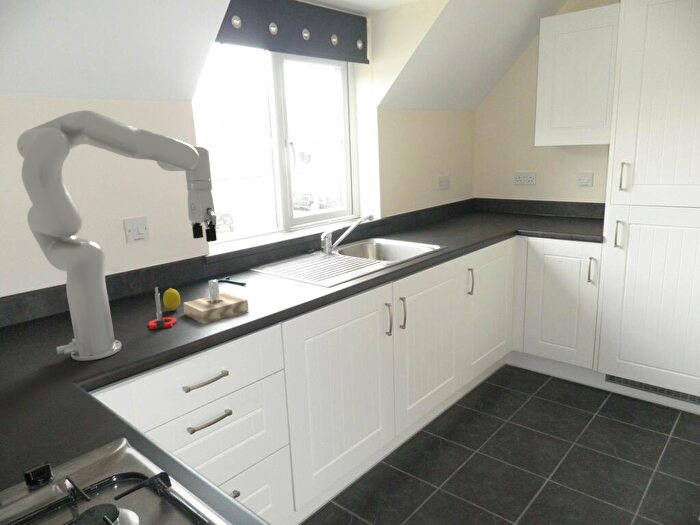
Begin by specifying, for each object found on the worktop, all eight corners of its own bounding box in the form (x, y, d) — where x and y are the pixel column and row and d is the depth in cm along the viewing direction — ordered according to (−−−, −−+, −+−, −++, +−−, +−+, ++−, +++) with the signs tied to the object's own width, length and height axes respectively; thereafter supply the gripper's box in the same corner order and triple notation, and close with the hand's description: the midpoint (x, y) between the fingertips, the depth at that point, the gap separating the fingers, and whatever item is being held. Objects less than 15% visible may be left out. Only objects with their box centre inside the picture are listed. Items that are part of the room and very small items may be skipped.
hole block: (203, 323, 162) (202, 311, 161) (184, 314, 172) (183, 302, 171) (248, 311, 172) (247, 299, 171) (228, 303, 182) (227, 292, 182)
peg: (214, 314, 170) (211, 282, 168) (210, 313, 172) (206, 281, 170) (222, 312, 172) (219, 280, 170) (218, 310, 174) (215, 279, 172)
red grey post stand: (151, 322, 167) (146, 330, 158) (146, 283, 165) (141, 289, 156) (178, 319, 169) (175, 327, 160) (173, 280, 167) (170, 286, 158)
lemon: (175, 307, 181) (173, 285, 179) (185, 309, 177) (182, 287, 175) (161, 311, 177) (158, 288, 175) (170, 314, 173) (167, 291, 171)
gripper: (176, 186, 167) (182, 238, 171) (200, 187, 154) (205, 244, 158) (198, 184, 172) (204, 235, 176) (223, 185, 159) (228, 240, 163)
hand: (204, 239), depth 167 cm, fingers open, 9 cm apart
